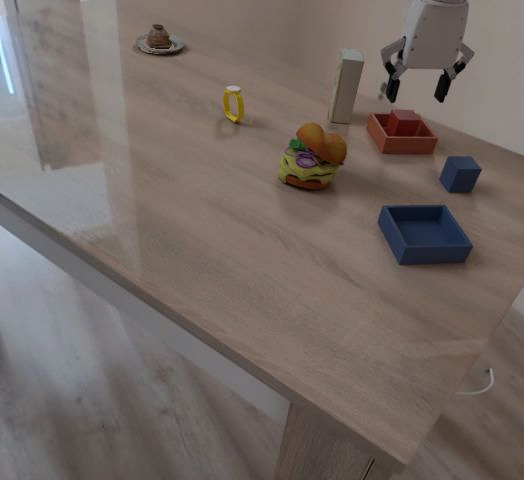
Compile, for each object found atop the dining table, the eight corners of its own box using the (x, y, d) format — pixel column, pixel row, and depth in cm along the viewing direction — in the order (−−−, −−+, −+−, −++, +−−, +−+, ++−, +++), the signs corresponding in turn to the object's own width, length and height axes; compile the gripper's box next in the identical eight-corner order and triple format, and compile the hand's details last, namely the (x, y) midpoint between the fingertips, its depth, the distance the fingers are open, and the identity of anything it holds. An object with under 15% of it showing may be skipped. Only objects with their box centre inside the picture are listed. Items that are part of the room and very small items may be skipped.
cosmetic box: (328, 109, 103) (339, 46, 94) (348, 111, 104) (361, 48, 94) (329, 122, 99) (341, 58, 90) (350, 124, 100) (365, 60, 90)
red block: (405, 132, 98) (412, 109, 95) (413, 142, 95) (420, 120, 92) (385, 131, 97) (391, 109, 94) (392, 142, 95) (399, 119, 91)
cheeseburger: (265, 165, 85) (284, 108, 79) (315, 172, 90) (336, 119, 84) (287, 195, 79) (309, 136, 73) (339, 201, 84) (364, 146, 78)
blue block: (461, 179, 89) (471, 156, 85) (471, 192, 86) (482, 169, 82) (438, 179, 88) (448, 155, 85) (448, 192, 85) (458, 169, 82)
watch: (246, 124, 96) (248, 93, 91) (234, 127, 95) (236, 95, 90) (230, 112, 99) (231, 81, 94) (219, 114, 98) (219, 83, 93)
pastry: (135, 38, 122) (132, 16, 118) (182, 39, 124) (181, 18, 120) (135, 55, 114) (133, 33, 111) (186, 56, 116) (185, 35, 113)
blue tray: (438, 220, 79) (445, 204, 77) (465, 262, 72) (473, 246, 70) (377, 222, 77) (382, 205, 75) (398, 264, 70) (405, 247, 68)
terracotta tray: (414, 128, 101) (418, 113, 99) (432, 153, 94) (438, 138, 92) (366, 127, 99) (369, 112, 97) (381, 153, 93) (386, 137, 90)
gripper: (484, -15, 81) (449, 92, 94) (388, -18, 79) (365, 92, 92) (505, -2, 77) (464, 108, 90) (403, -5, 74) (377, 108, 87)
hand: (414, 100), depth 91 cm, fingers open, 9 cm apart
